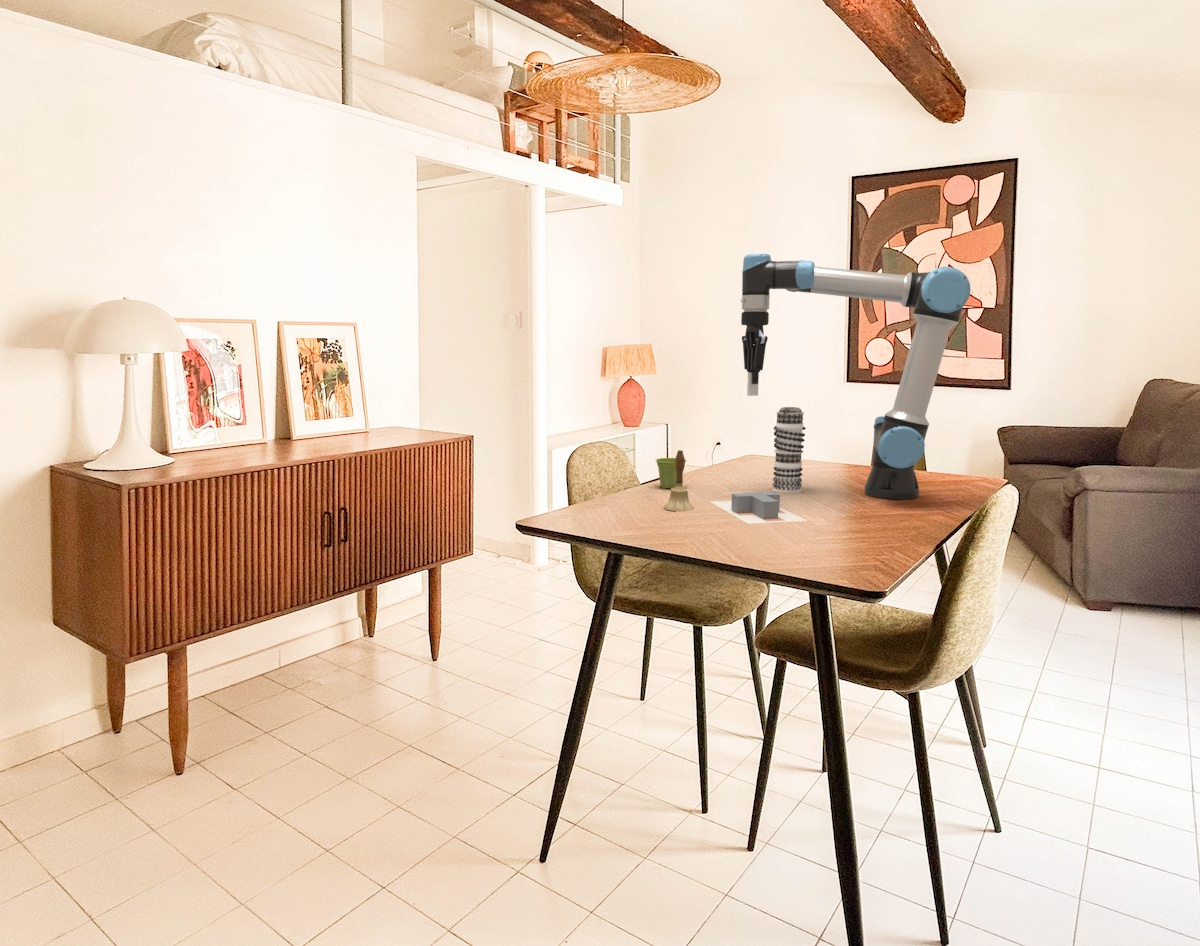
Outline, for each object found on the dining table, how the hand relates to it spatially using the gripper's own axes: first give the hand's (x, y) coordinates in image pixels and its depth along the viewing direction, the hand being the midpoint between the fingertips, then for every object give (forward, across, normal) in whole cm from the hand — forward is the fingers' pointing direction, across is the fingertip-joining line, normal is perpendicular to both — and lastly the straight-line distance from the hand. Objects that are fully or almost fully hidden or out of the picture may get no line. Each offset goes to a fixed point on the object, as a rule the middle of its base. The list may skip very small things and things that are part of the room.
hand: (752, 395), depth 237 cm
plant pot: (+30, -19, -18) cm, 40 cm away
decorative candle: (+30, -7, +15) cm, 34 cm away
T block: (+29, +23, -6) cm, 38 cm away
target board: (+29, +19, -6) cm, 36 cm away
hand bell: (+30, +11, -25) cm, 40 cm away
